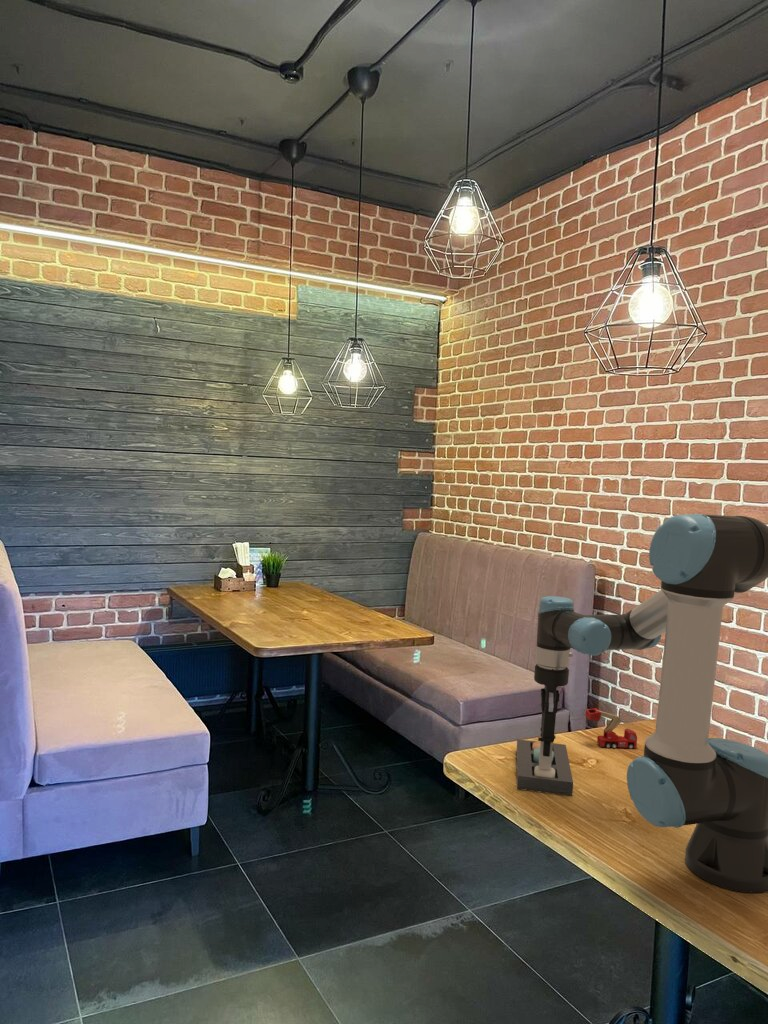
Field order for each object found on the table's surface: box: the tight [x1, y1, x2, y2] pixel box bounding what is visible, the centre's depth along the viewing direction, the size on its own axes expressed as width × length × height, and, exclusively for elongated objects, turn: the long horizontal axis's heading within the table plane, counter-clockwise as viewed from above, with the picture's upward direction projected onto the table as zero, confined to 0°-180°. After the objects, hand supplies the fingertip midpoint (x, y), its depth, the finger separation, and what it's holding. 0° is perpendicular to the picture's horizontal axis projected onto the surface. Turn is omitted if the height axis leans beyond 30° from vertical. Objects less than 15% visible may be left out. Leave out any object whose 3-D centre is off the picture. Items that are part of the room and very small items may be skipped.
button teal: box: [533, 748, 554, 765], centre depth 179 cm, size 5×5×3 cm
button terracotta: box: [532, 741, 540, 751], centre depth 187 cm, size 5×5×3 cm
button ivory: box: [534, 766, 555, 778], centre depth 171 cm, size 5×5×3 cm
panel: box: [515, 738, 574, 797], centre depth 179 cm, size 24×12×3 cm, turn 170°
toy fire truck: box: [585, 707, 638, 750], centre depth 199 cm, size 3×14×10 cm, turn 94°
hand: (544, 768), depth 171 cm, fingers closed
